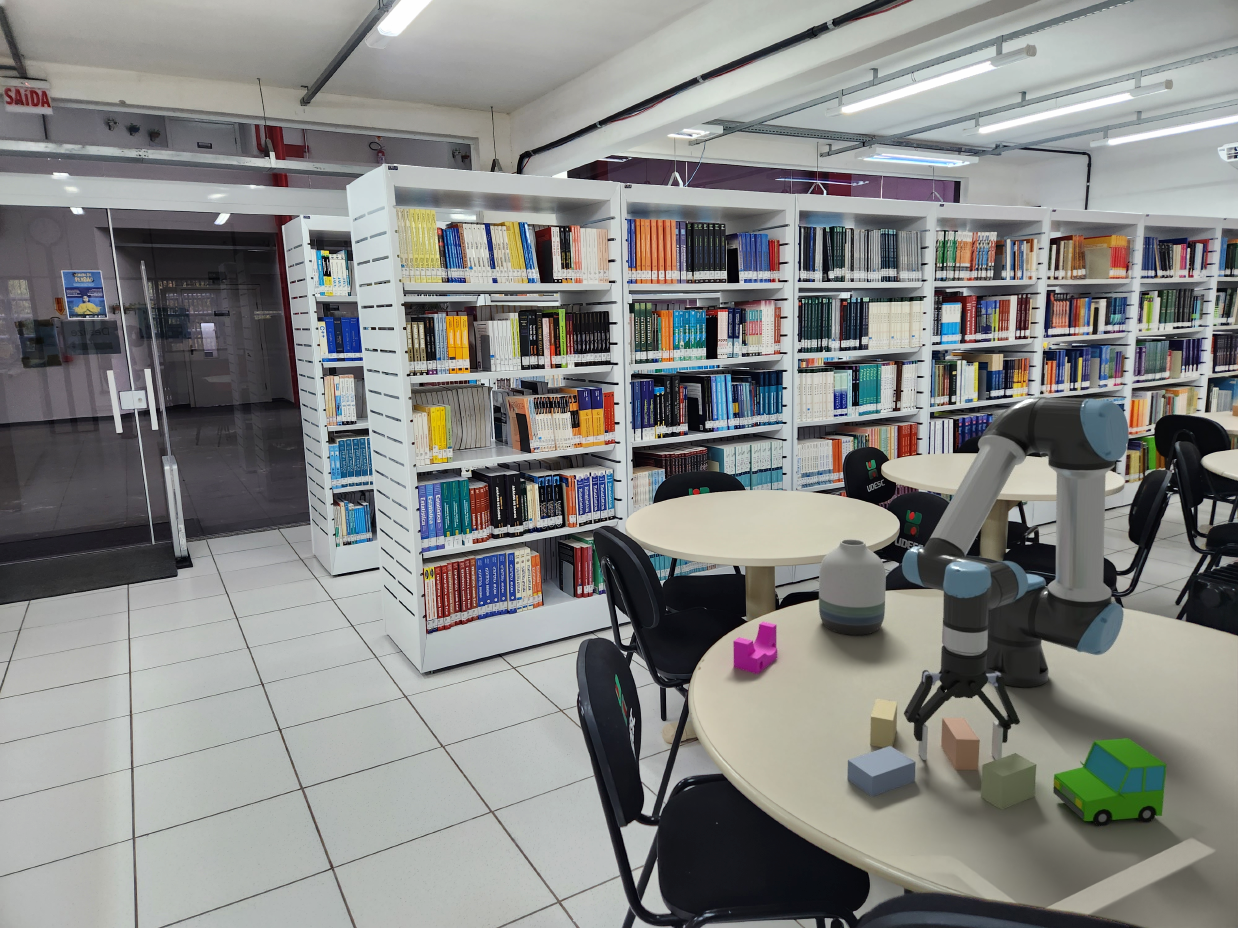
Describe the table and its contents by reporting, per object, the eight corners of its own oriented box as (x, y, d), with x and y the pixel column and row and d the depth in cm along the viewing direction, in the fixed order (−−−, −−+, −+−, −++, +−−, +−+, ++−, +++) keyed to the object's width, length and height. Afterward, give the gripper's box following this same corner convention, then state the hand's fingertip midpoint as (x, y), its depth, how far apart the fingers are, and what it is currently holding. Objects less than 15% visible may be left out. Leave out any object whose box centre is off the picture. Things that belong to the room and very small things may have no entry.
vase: (815, 616, 215) (816, 533, 211) (877, 617, 213) (879, 534, 209) (822, 640, 199) (823, 550, 195) (890, 641, 196) (892, 551, 192)
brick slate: (889, 765, 141) (890, 745, 140) (914, 782, 135) (915, 761, 135) (847, 780, 137) (847, 759, 136) (871, 797, 131) (872, 776, 131)
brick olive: (1013, 784, 133) (1015, 752, 132) (1034, 796, 130) (1036, 764, 129) (980, 797, 130) (982, 764, 129) (1001, 809, 127) (1002, 776, 126)
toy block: (757, 676, 179) (757, 646, 178) (733, 670, 183) (733, 640, 181) (785, 655, 190) (785, 626, 189) (762, 649, 194) (762, 621, 193)
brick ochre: (875, 726, 155) (876, 698, 154) (896, 729, 153) (897, 701, 152) (870, 745, 148) (870, 716, 147) (892, 749, 146) (892, 720, 145)
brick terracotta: (941, 746, 146) (942, 717, 145) (962, 747, 146) (964, 717, 145) (955, 769, 138) (956, 739, 137) (978, 770, 138) (979, 739, 137)
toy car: (1045, 795, 130) (1049, 740, 129) (1119, 789, 131) (1123, 734, 130) (1087, 833, 120) (1091, 774, 118) (1166, 826, 121) (1171, 768, 120)
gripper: (1026, 640, 141) (1020, 747, 144) (888, 638, 144) (886, 744, 147) (1044, 656, 134) (1037, 769, 137) (899, 655, 136) (896, 766, 140)
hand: (959, 756), depth 142 cm, fingers open, 12 cm apart
